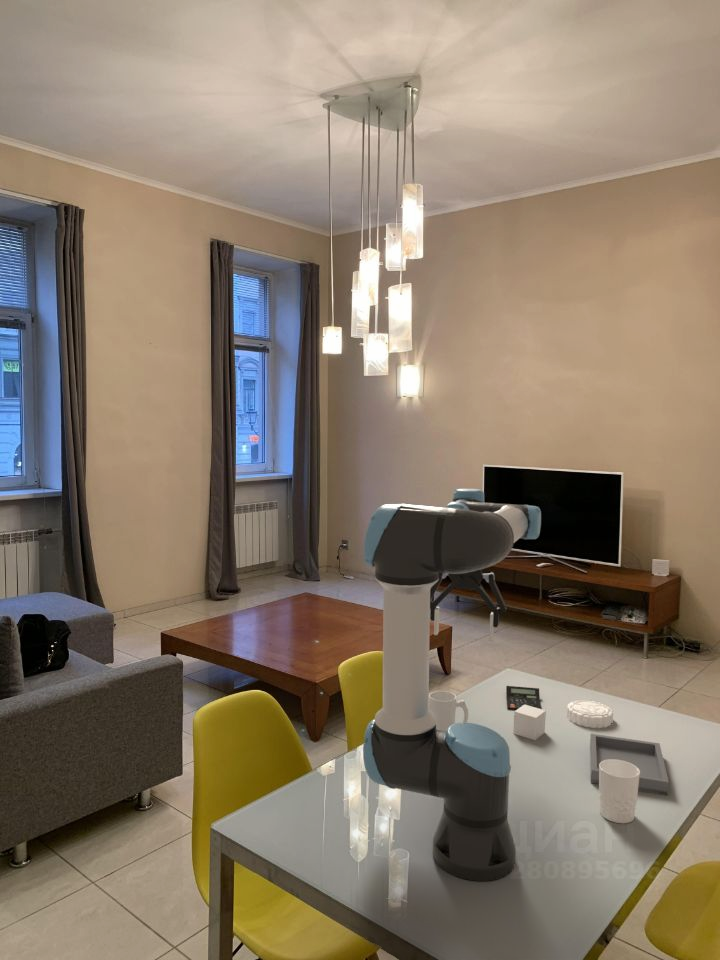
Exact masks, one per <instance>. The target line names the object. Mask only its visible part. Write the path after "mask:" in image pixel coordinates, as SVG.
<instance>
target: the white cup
mask: <svg viewBox="0 0 720 960" xmlns="http://www.w3.org/2000/svg"><path fill="white" fill-rule="evenodd" d="M639 777H640V770H639V769H638V768H637V767H636V766H635V765H633V764H631V763H629V762H626V761H622V760H616V759H608V760H604V761H602V762H600V764H599V784H598V799H599V814H600V815H601V816H602V817H603V818H604V819H606V820H608V821H610V822H613V823H617V824H629V823H631V822H633V821H634V820H635V813H636V806H637V801H638V793H639V791H638V787H639Z"/></svg>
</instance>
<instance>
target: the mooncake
mask: <svg viewBox="0 0 720 960" xmlns="http://www.w3.org/2000/svg"><path fill="white" fill-rule="evenodd" d="M566 706H567V707H566V718H567V719H568V721H570V722H572V723H573V724H576V725H578V726H581V727H584V728H591V729H602V728H608V727H611V726H612V724H613V722H614V711H613V710H612V709H611V708H610V707H609V706H608V705H606V704H602V703H601V702H598V701H593V700H582V699H581V700H579V699H578V700H573V701H571V702H569V703H568V704H567V705H566ZM611 723H612V724H611ZM610 725H611V726H610Z"/></svg>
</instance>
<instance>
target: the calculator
mask: <svg viewBox="0 0 720 960" xmlns="http://www.w3.org/2000/svg"><path fill="white" fill-rule="evenodd" d="M505 690H506V692H505V694H506V698H505V699H506V708H507V709H506V710H507V711H516V710H517V709H519V708H520V707H522V706H523V705H528V706H531V707H535V708H539V709H542V705H541V699H540V688H537V687H526V686H525V687H524V686H512V685H506V687H505ZM542 710H543V709H542Z"/></svg>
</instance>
